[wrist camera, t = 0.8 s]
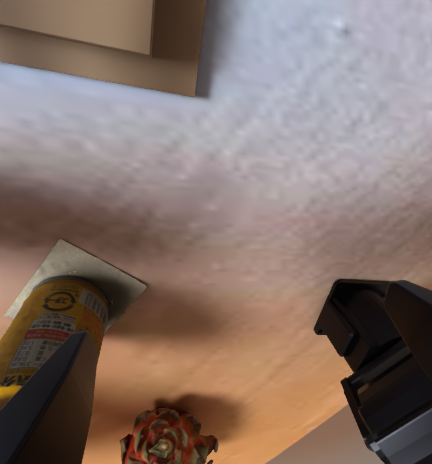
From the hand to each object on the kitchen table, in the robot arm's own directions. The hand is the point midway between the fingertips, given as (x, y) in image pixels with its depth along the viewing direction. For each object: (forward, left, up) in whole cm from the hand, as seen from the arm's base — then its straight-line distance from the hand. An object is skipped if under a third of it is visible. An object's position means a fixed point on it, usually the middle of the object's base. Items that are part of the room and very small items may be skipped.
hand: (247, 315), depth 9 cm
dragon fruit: (-1, +28, -13) cm, 31 cm away
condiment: (+8, +11, -13) cm, 19 cm away
